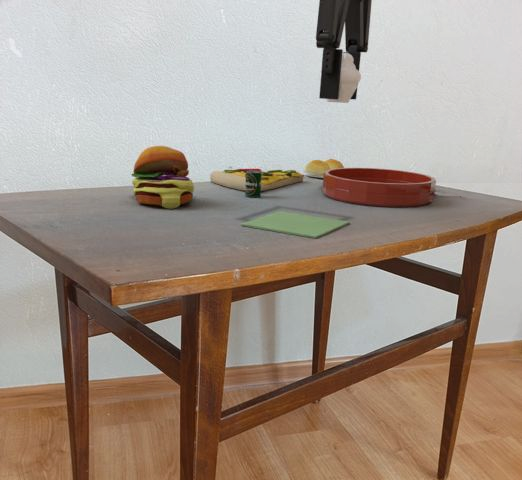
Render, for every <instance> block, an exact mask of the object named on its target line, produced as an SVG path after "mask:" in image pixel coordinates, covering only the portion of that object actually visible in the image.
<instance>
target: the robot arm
mask: <svg viewBox="0 0 522 480" xmlns="http://www.w3.org/2000/svg"><path fill="white" fill-rule="evenodd" d="M372 2H373V0H319V4H318V11H317V21H316V31H315V41H316V42H315V44H316V45H315V46H316V48H317V49H322V59H321V71H320V72H321V81H320V85H319V99H320V100H321V99H323V100H326V99H338V96H339V85H340V74H341V63H342V52H343V53H348V54H350V55H352V57H353V59H354V61H353V63H354V65H355V67H356V69H357V70H358V71H359V72H360V67H361V66H360V65H361V55H362V53H367V52H368V51H369V38H370V27H371V26H370V25H371V14H372ZM343 33H344V35H345V36H344V40H345V42H344V43H345V51H344V49H341V48H340V46H341V43H342V37H343ZM357 85H358V86H359V83H358V84H357ZM357 94H358V87H357V88H356V90H355V92H354V93H353V95H352V97H351V99H350V100H357V96H358V95H357Z"/></svg>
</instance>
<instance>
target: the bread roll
mask: <svg viewBox="0 0 522 480" xmlns="http://www.w3.org/2000/svg"><path fill="white" fill-rule="evenodd" d="M337 168H345V166H344V164H343V163H342V162H341V161H340V160H337V159H334V158H329V159H327V160H325V161H324V160H320V159H315V160H311V161H309V162H308V163H307V164H306V166H305V167H304V171H303V172H304V174H306V177H307V178H309V179H312V180H313V179H314V180H319V181H321V180H322V181H323V177H324V172H325V171H326V170H330V169H337Z"/></svg>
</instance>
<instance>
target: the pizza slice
mask: <svg viewBox="0 0 522 480" xmlns="http://www.w3.org/2000/svg"><path fill="white" fill-rule="evenodd" d="M250 170H254V171H260V172H261V192H264V191H269V190H274V189H278V188H281V187H286V186H289V185H293V184H296V183H301V182H303V181H304V176H305V175H304V174H302V173H300V172H299V171H296V170H295V169H289V170H283V169H272V170H267V171H264V170H263V171H262V169H261V168H237V169H224V170H223V171H221V170H214V171H212V172H211V173H210V175H209V180H210V182H212V183H214V184H216V185H220V186H222V187H226V188H229V189H233V190H239V191H242V192H243V191H244V192H245V184H246V173H247V171H250Z"/></svg>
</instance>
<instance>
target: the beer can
mask: <svg viewBox="0 0 522 480" xmlns="http://www.w3.org/2000/svg"><path fill="white" fill-rule="evenodd" d="M261 194H262V191H261V172H260V171H254V170H250V171H247V173H246V184H245V191H244V195H245V196H246V197H247V198H260V197H261Z"/></svg>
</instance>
